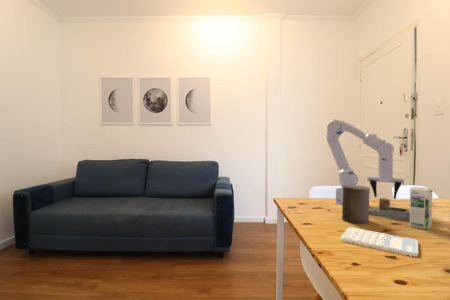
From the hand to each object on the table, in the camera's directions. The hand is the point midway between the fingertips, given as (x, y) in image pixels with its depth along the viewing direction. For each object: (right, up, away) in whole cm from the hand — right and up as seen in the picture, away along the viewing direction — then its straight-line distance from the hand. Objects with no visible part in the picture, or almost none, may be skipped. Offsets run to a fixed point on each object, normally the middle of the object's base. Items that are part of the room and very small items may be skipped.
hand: (385, 197), depth 120 cm
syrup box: (-2, -7, -24) cm, 25 cm away
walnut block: (0, -5, 0) cm, 5 cm away
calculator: (-27, -7, -39) cm, 48 cm away
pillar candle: (-22, -6, -16) cm, 28 cm away
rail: (-7, -6, -10) cm, 14 cm away
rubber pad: (0, -6, 0) cm, 6 cm away
